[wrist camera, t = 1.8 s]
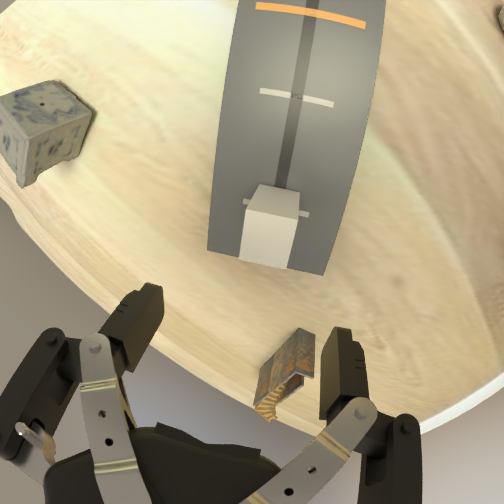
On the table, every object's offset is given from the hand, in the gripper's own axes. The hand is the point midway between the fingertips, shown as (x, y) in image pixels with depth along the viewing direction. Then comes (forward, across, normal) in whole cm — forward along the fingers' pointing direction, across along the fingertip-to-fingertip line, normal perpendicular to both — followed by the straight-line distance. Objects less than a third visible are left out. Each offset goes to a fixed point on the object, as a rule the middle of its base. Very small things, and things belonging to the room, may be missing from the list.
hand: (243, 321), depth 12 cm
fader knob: (+14, 0, 0) cm, 14 cm away
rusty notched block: (+18, -6, +23) cm, 30 cm away
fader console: (+17, 0, -10) cm, 20 cm away
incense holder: (+18, +28, -6) cm, 34 cm away
